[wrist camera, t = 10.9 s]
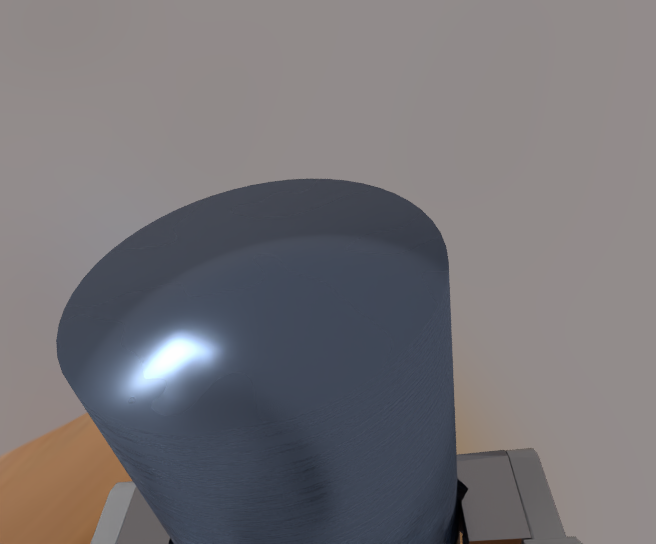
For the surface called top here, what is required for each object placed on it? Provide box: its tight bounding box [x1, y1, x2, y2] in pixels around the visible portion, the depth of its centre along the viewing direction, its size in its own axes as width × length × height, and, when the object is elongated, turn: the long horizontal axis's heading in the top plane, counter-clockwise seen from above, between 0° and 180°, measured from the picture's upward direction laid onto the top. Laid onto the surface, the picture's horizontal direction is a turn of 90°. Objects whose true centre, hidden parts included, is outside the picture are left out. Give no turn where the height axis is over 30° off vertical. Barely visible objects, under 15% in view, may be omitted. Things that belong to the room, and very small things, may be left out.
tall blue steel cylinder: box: [56, 179, 460, 544], centre depth 11 cm, size 5×5×14 cm
